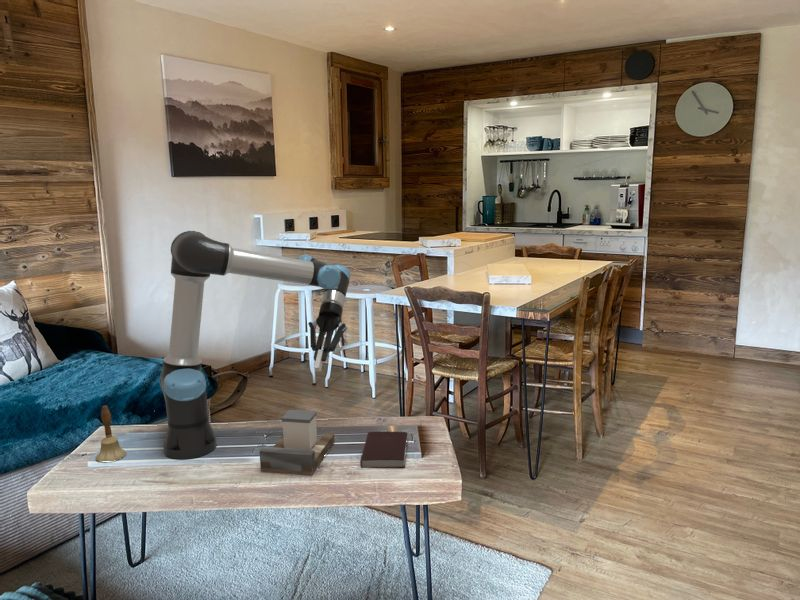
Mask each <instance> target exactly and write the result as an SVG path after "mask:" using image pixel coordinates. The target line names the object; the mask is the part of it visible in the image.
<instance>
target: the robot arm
mask: <svg viewBox="0 0 800 600" xmlns="http://www.w3.org/2000/svg"><path fill="white" fill-rule="evenodd" d="M170 254H171V264H170V265H171V266H170V274H171V276H172V277H173V278H174V292H173V302H172V303H173V304H172V305H173V306H172V314H171V325H170V326H171V327H170V338H169V348H168V349H169V350H168V354H166V356H164V358H163V359H162V369H161V372H160V375H159V387H160V389H161V391H162V394H163V398H164V403H165V407H166V409H165V410H166V420H167V430H166V435H165V439H164V443H163V450H164V451H163V452H164V455H165V456H166V457H168V458H171V459H175V460H188V459H194V458H195V459H196V458H198V457H202V456H204V455H205V456H206V455H207V454H209V453H211V452H213V450H215V449H216V447H217V445H218V442H217V435H216V434H215V432H214V430H213V428H212V425H211V423H210V421H209V409H208V408H209V407H208V397H207V381H206V378H205V375H204V373H203V372H202V365H203V360H202V358H200V357H199V355H198V353H199V344H200V342H199V341H200V333H201V332H200V331H201V321H202V314H203V313H202V310H203V301H204V299H203V298H204V289H205V282H206V281H207V280H208V279H210V277H211V275H215V276H217V275H218V276H222V277H223V276H226V275H227V274H231V275H241V276H247V277H253V278H260V279H266V280H273V281H280V282H287V283H293V284H299V285H308V286H310V287H311V286H312V287H318V288H322V289H324V290H323V295H322V299H321V303H320V307H319V312H318V317H316V319H315V320H314V321H313V322H312V321H309V322H308V324H307V325H308V327H309V331H310V333H309V334H310V338H309V339H310V349H311V350H312V351H313V352H314V354H313V355H314V356H313V360H314V361H315V363H314V367H313V368H314V371H315V372H319V373H321V372H322V369H323V368H322V367H323V364H324V363H325V362H326V361H327V359H328V354H329V353H330V352H332V353H334V352H335V350H336V348H337V346H338V344H339V342H340V341H341V338H342V337H343V334H344V333H345V332H346V331H347V329H348V327H347V326H346V324H345V323H344V322H342V315H343V312H344V311H343V309H344V306H345V302H346V297H347V293H348V289H349V284H350V278H351V271H350V270H349V268H348V267H347V266H345V265H340V264H333V265H332V264H328V263H325V262H323V261H321V260H318V259H316V258H315V257H314V256H310V255H308V254H306V253H305V254H302V255H301V256H300V257H299V258H293V257H286V256H281V255H275V254H269V253H264V252H259V251H252V250H247V249H240V248H235V247H232V245H231V244H230V243H226V242H221V241H217V240H215V239H213V238H210V237H208V236H206V235H205V234H203V233H202V232H199V231H195V230H187V231H184V232H180V233H179V234H177V235H176V236H175V237H174V238H173V240H172V242H171V245H170ZM317 326H318V328H319V332H318V336H317V332H316V329H317ZM335 331H336V332H335ZM334 332H335V333H334ZM316 336H317V337H316Z"/></svg>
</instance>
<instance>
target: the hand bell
mask: <svg viewBox="0 0 800 600" xmlns="http://www.w3.org/2000/svg"><path fill="white" fill-rule="evenodd" d="M100 418H101V422H102V424H103V426H104V433H105V438H102V439H101V440H100V450H99V452H98V454H97V455H96V456H95V461H96V460H98V461H114V460H117V459H120V458H122V457H124V456H125V455H126V456H127V451H126V450H125V449H123V448H122V447H121V446H120V443H119V439H118V437H116V436H113V433H112V428H111V423H112V414H111V411H110V409H109V407H108V405H102V407H101V413H100ZM126 456H125V457H126ZM125 457H124V458H125ZM122 459H123V458H122ZM120 460H121V459H120ZM114 462H115V461H114Z"/></svg>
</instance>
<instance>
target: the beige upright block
mask: <svg viewBox="0 0 800 600" xmlns="http://www.w3.org/2000/svg"><path fill="white" fill-rule="evenodd" d="M317 414H318V413H317V411H313V410H312V411H311V410H298V409H289V410H288V411H287V412H286V413H285V414H284V415H283V416H282V417H281V418H280V419H281V422H282V432H283V435H282V436H283V437H284V448H290V449H303V450H312V449H313V447H314V446H315V445H316V444H317V438H318V432H317V431H318V430H317V429H318V428H317Z"/></svg>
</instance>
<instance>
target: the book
mask: <svg viewBox="0 0 800 600" xmlns="http://www.w3.org/2000/svg"><path fill="white" fill-rule="evenodd" d="M407 439H408V432H407V431H369V432H367V435H366V439H365V442H364V446H363V450H362V453H361V457H360V461H359V462H360V467H361V468H372V469H376V468H377V469H404V468H406V467H405V466H406V458H405V448H406V449H407V447H406V440H407Z"/></svg>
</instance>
